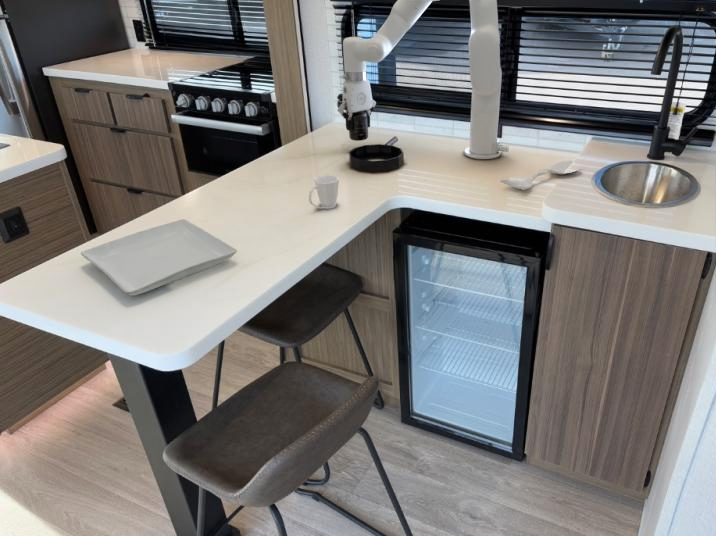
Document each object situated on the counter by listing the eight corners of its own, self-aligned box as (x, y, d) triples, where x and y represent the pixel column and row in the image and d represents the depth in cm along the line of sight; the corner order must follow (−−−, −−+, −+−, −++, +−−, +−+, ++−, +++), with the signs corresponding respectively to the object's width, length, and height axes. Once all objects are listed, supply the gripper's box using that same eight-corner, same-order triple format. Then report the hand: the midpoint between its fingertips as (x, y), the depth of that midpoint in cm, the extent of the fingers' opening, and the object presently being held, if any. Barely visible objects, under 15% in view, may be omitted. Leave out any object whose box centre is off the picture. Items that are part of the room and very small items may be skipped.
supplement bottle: (347, 136, 220) (345, 103, 213) (365, 134, 221) (364, 101, 215) (351, 141, 214) (349, 107, 208) (370, 140, 216) (369, 105, 209)
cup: (345, 205, 175) (343, 179, 170) (318, 215, 169) (315, 188, 164) (330, 199, 179) (328, 173, 175) (303, 209, 173) (300, 182, 169)
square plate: (82, 265, 146) (78, 250, 144) (187, 230, 162) (184, 216, 160) (130, 306, 129) (125, 290, 127) (241, 262, 145) (238, 248, 143)
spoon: (498, 189, 184) (499, 178, 182) (563, 165, 201) (564, 155, 199) (521, 197, 178) (522, 186, 176) (586, 172, 195) (587, 162, 193)
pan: (418, 150, 218) (418, 138, 216) (391, 175, 196) (391, 162, 194) (373, 145, 223) (372, 134, 221) (341, 169, 201) (340, 157, 199)
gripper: (341, 81, 199) (344, 135, 209) (382, 74, 209) (383, 125, 218) (328, 78, 204) (332, 130, 213) (369, 71, 214) (371, 121, 223)
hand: (358, 127), depth 216 cm, fingers closed on supplement bottle, 6 cm apart
